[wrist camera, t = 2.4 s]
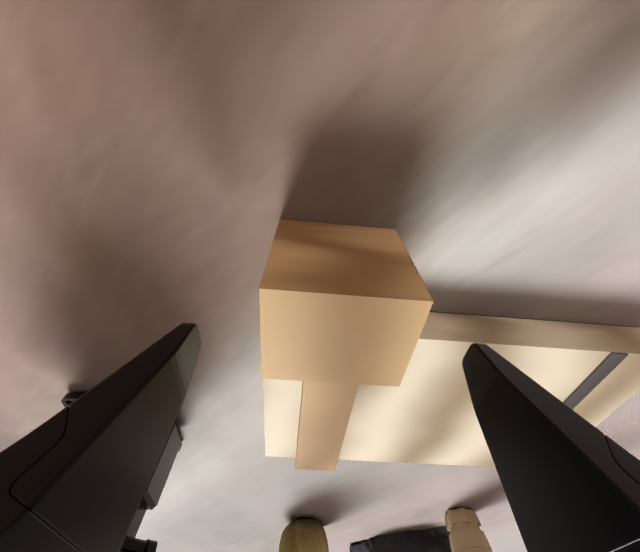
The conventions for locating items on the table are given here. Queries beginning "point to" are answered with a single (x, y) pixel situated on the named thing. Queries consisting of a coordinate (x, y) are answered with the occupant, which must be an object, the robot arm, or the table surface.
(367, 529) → the table surface
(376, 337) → the marking gauge
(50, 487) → the robot arm
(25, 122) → the table surface
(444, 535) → the dark slate chunk
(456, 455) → the ash plank
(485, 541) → the handle
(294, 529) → the fennel bulb
